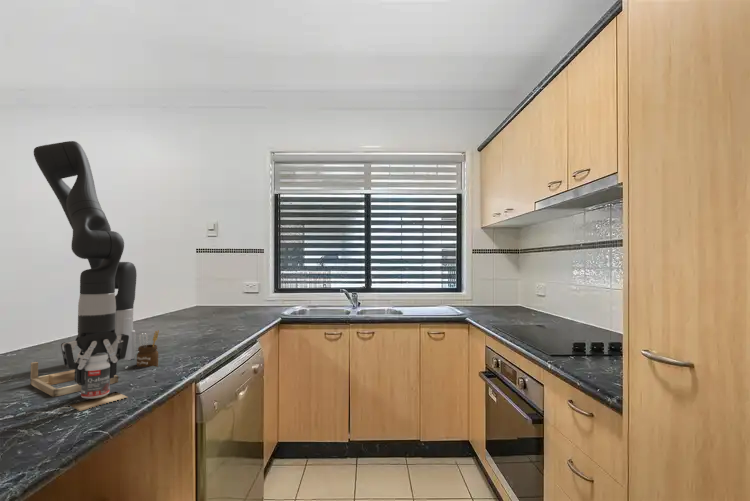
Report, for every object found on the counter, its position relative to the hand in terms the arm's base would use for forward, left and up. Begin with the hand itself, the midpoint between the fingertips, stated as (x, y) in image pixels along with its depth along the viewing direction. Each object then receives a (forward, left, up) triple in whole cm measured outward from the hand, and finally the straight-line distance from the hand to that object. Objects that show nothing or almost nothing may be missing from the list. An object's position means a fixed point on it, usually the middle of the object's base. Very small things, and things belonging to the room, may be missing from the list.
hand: (95, 380), depth 96 cm
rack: (0, -14, -5) cm, 15 cm away
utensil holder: (-21, -18, -5) cm, 28 cm away
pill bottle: (0, 0, -4) cm, 4 cm away
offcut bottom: (0, -19, -5) cm, 20 cm away
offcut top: (0, -19, -3) cm, 19 cm away
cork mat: (0, 0, -5) cm, 5 cm away
